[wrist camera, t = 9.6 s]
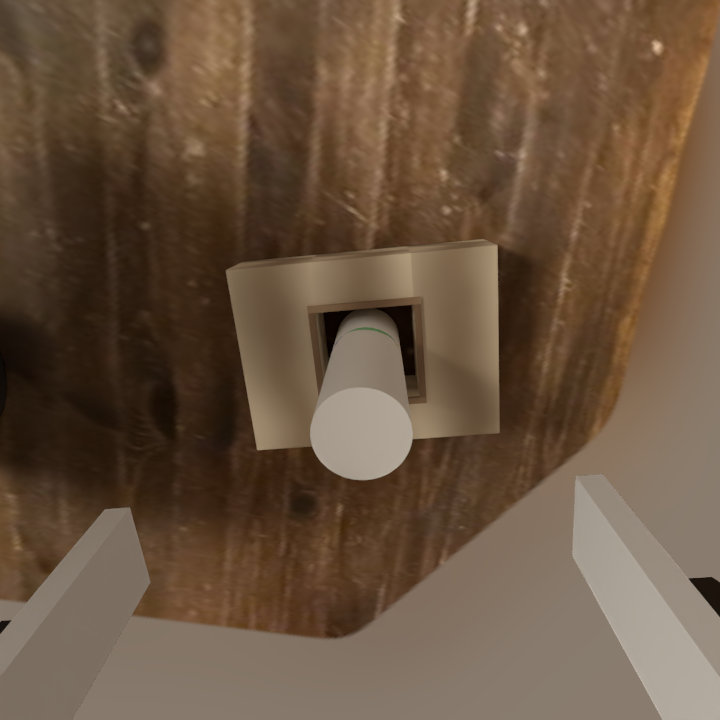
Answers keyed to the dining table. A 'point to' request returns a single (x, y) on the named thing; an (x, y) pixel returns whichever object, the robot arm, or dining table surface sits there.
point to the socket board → (362, 291)
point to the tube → (363, 400)
